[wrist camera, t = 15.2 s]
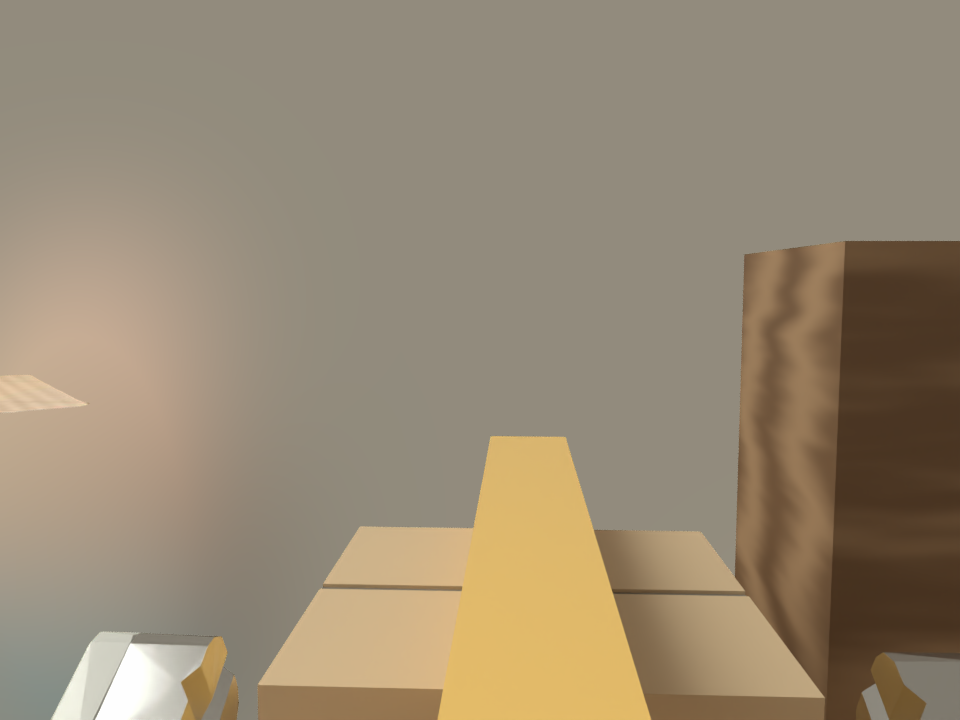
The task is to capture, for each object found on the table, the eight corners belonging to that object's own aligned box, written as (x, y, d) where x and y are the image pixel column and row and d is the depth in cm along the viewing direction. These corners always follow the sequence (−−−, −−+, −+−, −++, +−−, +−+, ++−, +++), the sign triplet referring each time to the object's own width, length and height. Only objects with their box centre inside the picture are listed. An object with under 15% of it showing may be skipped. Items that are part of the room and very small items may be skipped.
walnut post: (1172, 1010, 29) (1233, 241, 27) (814, 996, 29) (845, 241, 27) (980, 798, 41) (1011, 254, 39) (728, 791, 41) (744, 254, 39)
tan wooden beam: (705, 1156, 8) (711, 919, 8) (403, 1140, 9) (401, 907, 8) (564, 497, 34) (565, 436, 34) (490, 497, 34) (490, 436, 34)
